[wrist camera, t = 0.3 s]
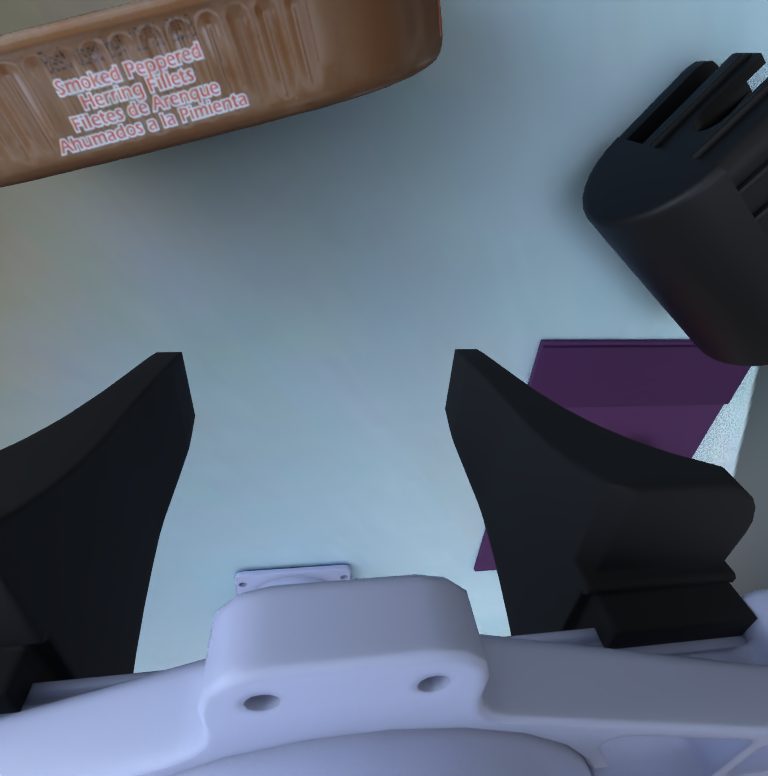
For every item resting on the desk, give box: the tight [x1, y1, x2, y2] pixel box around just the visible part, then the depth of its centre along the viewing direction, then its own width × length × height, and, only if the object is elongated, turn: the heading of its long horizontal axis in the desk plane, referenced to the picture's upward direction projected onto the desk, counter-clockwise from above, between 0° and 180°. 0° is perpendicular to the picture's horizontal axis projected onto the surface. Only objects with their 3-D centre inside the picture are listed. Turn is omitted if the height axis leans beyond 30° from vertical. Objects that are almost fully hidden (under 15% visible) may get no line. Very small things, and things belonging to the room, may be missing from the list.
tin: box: [0, 0, 442, 187], centre depth 13 cm, size 15×3×8 cm, turn 101°
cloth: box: [474, 340, 751, 571], centre depth 31 cm, size 20×13×1 cm, turn 176°
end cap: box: [583, 53, 768, 366], centre depth 19 cm, size 10×7×7 cm
